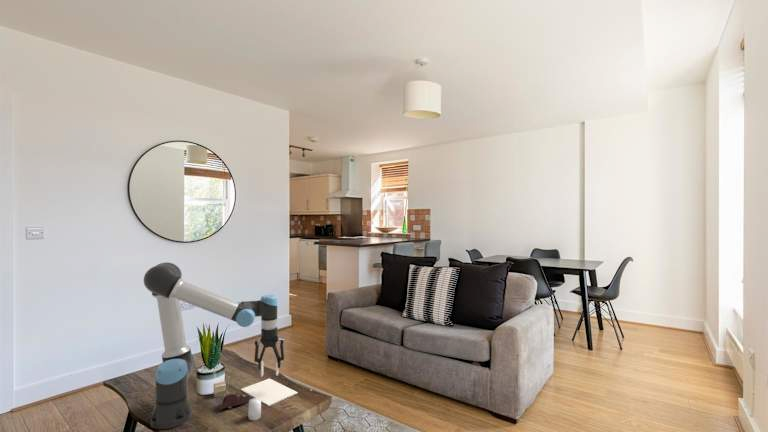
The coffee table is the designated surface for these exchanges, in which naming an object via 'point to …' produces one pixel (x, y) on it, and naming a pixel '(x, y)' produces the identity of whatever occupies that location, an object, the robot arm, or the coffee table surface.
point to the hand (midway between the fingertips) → (269, 374)
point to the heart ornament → (234, 400)
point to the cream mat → (269, 391)
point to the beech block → (219, 389)
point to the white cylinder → (254, 409)
